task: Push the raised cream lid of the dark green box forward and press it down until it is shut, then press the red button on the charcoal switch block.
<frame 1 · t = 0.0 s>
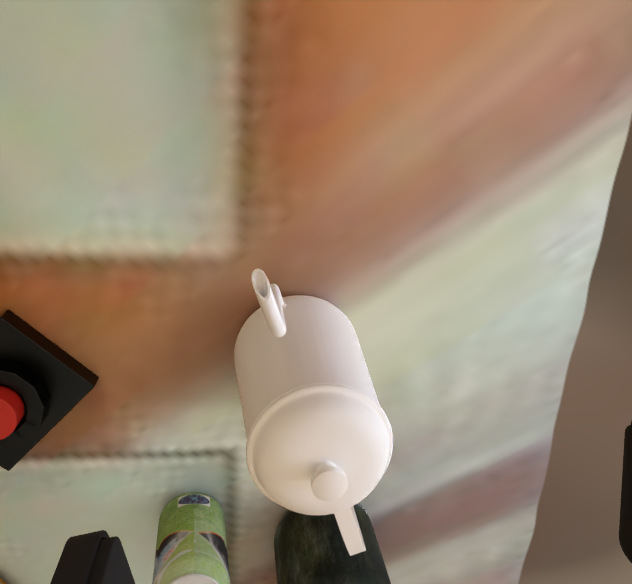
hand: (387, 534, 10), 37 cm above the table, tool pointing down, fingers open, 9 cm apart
switch block: (12, 387, 47), on the table
mug: (319, 545, 57), on the table
beverage can: (195, 506, 53), on the table
coffeepot: (293, 343, 49), on the table
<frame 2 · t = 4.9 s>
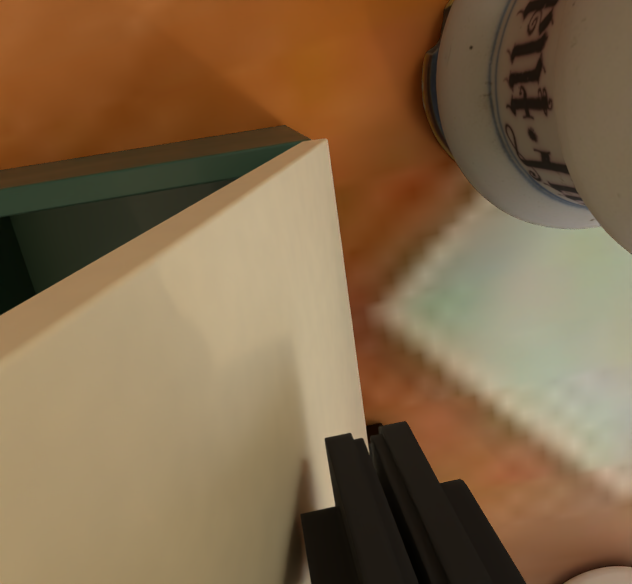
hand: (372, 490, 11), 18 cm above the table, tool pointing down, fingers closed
lid: (295, 488, 11), point 17 cm above the table, hinge at 71.9°, touching gripper
box: (170, 278, 27), on the table
apothecary jar: (518, 76, 26), on the table
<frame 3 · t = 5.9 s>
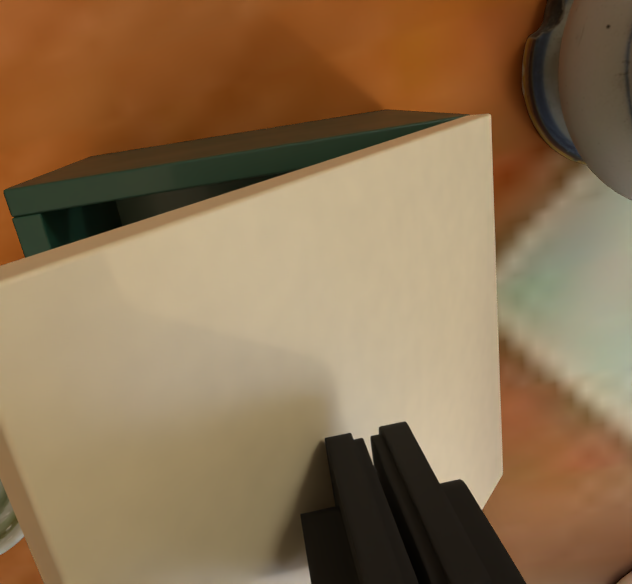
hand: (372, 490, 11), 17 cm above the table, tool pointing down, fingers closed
lid: (373, 433, 13), point 15 cm above the table, hinge at 45.4°
box: (265, 264, 27), on the table
apothecary jar: (615, 61, 26), on the table
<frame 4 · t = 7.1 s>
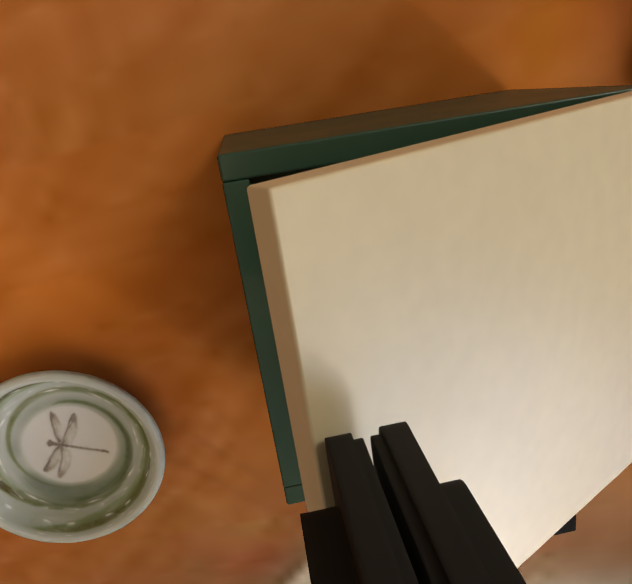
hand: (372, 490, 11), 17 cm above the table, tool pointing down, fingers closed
lid: (525, 361, 15), point 14 cm above the table, hinge at 28.0°
box: (383, 242, 28), on the table
saucer: (75, 433, 29), on the table
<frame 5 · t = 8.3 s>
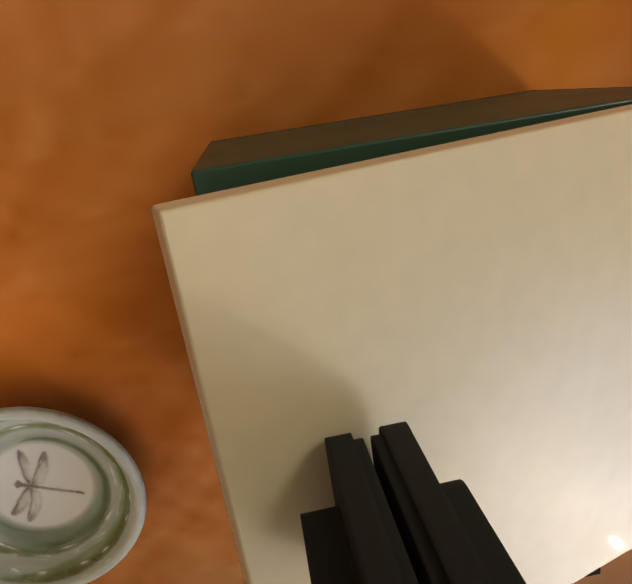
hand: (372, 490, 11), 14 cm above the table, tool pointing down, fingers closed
lid: (519, 402, 13), point 12 cm above the table, hinge at 16.6°
box: (390, 261, 25), on the table
saucer: (48, 472, 26), on the table
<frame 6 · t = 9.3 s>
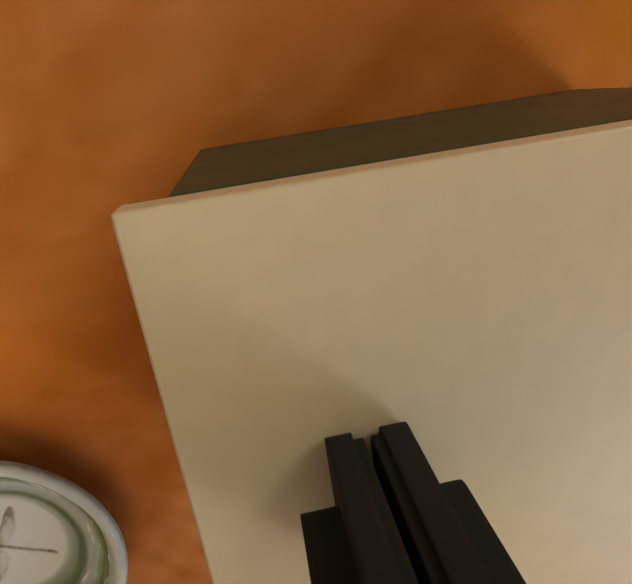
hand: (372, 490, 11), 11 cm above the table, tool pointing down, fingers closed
lid: (532, 440, 12), point 10 cm above the table, hinge at 0.4°, touching gripper
box: (408, 286, 21), on the table
saucer: (16, 526, 23), on the table
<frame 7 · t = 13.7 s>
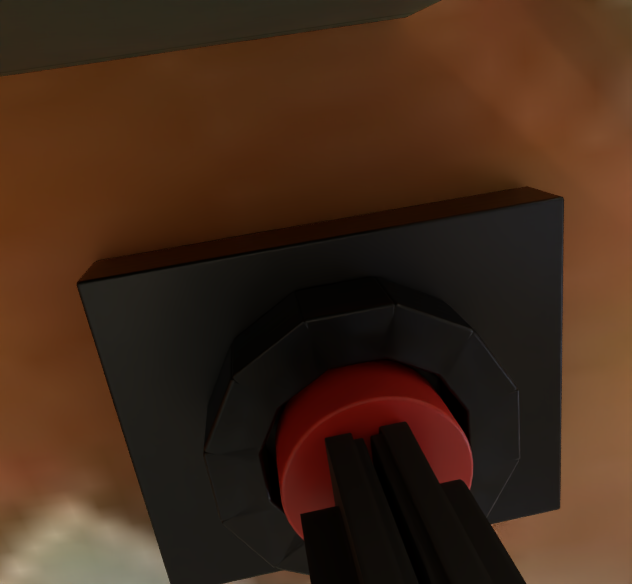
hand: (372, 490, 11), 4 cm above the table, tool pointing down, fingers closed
switch block: (341, 380, 15), on the table
button: (369, 458, 12), point 4 cm above the table, slide at -0.3 cm, touching gripper
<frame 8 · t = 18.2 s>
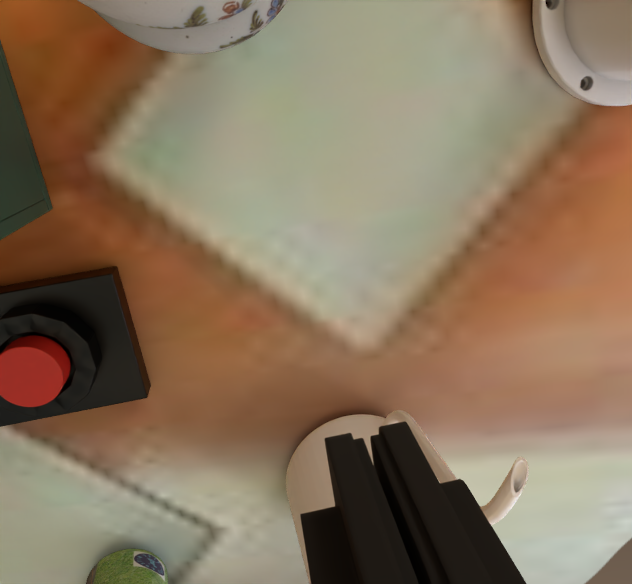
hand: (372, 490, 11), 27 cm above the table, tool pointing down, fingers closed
switch block: (52, 343, 37), on the table
beverage can: (138, 565, 44), on the table
coffeepot: (354, 461, 44), on the table
button: (32, 370, 33), point 4 cm above the table, slide at 0.1 cm
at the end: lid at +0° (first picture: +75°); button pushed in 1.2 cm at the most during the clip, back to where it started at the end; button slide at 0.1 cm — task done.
